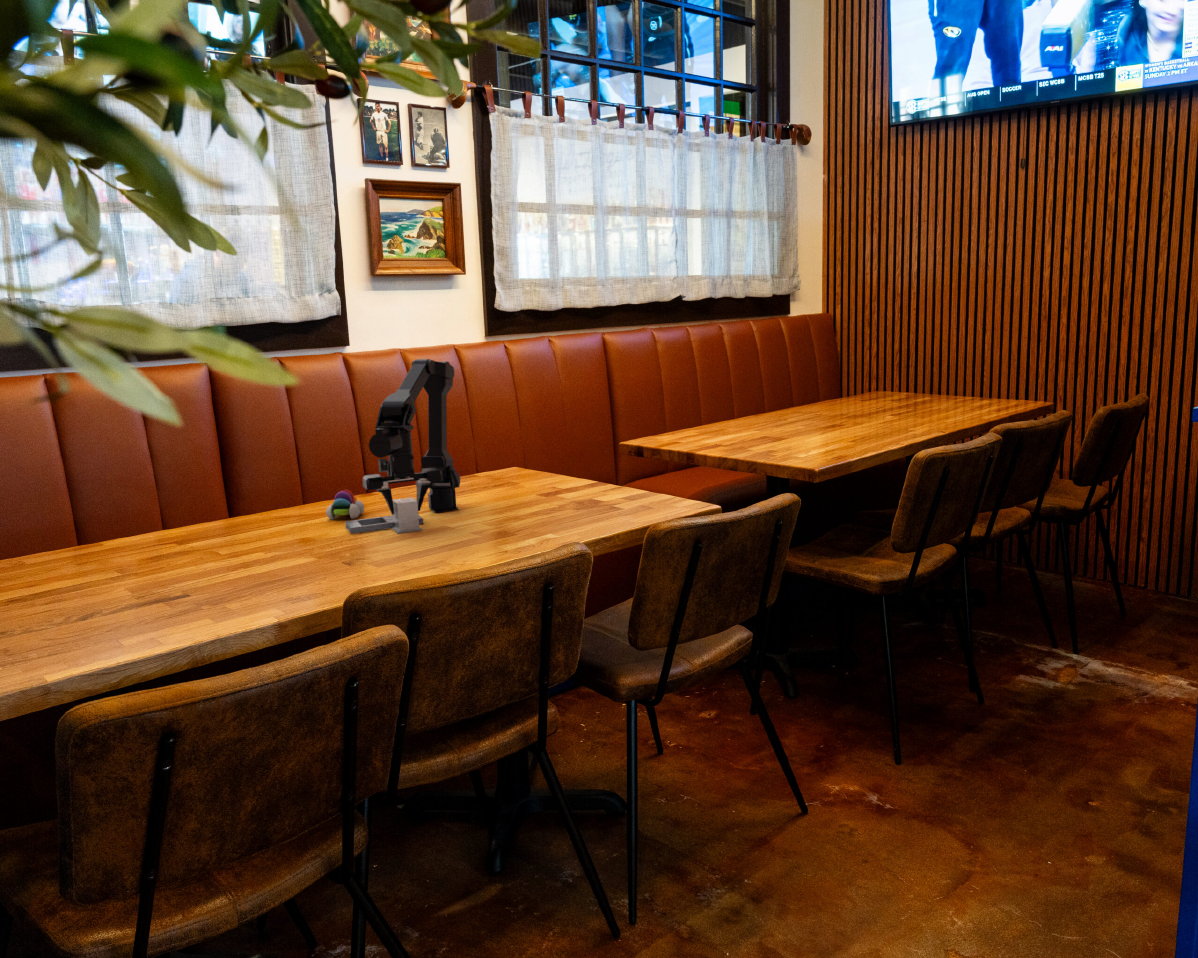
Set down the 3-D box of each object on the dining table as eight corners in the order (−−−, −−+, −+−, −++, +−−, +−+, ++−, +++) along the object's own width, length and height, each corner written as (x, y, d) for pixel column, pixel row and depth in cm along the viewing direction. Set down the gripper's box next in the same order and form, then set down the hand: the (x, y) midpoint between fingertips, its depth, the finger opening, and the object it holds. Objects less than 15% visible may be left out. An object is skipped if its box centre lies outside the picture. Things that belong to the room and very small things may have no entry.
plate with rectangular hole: (415, 517, 256) (415, 512, 256) (423, 524, 249) (422, 518, 249) (345, 527, 249) (345, 521, 249) (351, 533, 242) (350, 527, 242)
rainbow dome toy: (367, 512, 265) (365, 486, 264) (355, 521, 256) (353, 494, 255) (337, 513, 266) (334, 487, 265) (324, 521, 257) (321, 494, 255)
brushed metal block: (414, 524, 247) (412, 497, 246) (419, 528, 243) (417, 501, 241) (394, 527, 245) (392, 499, 244) (399, 531, 241) (397, 503, 239)
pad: (416, 525, 248) (415, 523, 248) (421, 530, 242) (421, 528, 242) (392, 528, 245) (392, 527, 245) (397, 533, 240) (397, 532, 240)
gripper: (429, 442, 251) (434, 502, 254) (355, 450, 244) (361, 511, 247) (441, 448, 241) (445, 510, 244) (364, 456, 234) (370, 520, 237)
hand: (405, 512), depth 243 cm, fingers open, 6 cm apart
